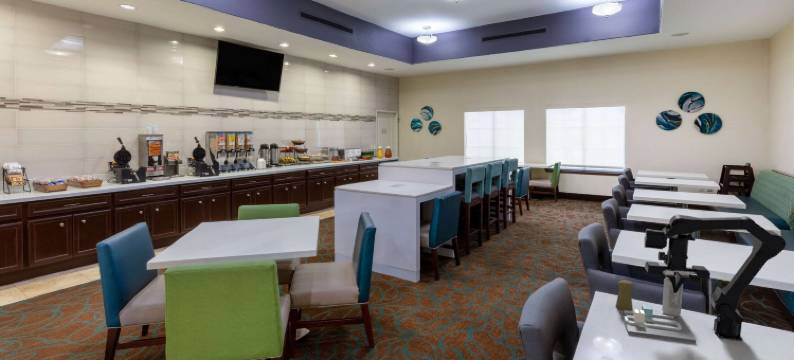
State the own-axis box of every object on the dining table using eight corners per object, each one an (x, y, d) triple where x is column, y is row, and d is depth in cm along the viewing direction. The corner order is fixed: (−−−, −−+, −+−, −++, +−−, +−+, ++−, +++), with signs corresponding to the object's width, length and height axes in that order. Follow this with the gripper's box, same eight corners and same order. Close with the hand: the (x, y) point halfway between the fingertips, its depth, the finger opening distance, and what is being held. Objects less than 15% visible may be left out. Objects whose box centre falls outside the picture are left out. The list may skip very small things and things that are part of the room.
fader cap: (642, 320, 153) (643, 309, 152) (644, 324, 150) (644, 313, 149) (633, 319, 154) (633, 308, 153) (634, 323, 151) (635, 312, 150)
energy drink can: (676, 311, 163) (678, 274, 161) (683, 318, 157) (686, 280, 155) (659, 310, 164) (661, 273, 162) (666, 317, 158) (668, 279, 156)
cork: (635, 310, 164) (637, 284, 162) (620, 311, 164) (621, 284, 162) (627, 304, 170) (629, 278, 168) (612, 304, 170) (614, 278, 168)
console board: (681, 321, 154) (682, 308, 153) (695, 343, 139) (697, 328, 138) (621, 314, 161) (621, 301, 160) (628, 334, 146) (629, 320, 145)
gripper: (701, 246, 152) (697, 287, 154) (643, 242, 159) (640, 281, 161) (712, 255, 142) (708, 299, 144) (649, 251, 148) (646, 292, 150)
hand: (674, 292), depth 150 cm, fingers closed
